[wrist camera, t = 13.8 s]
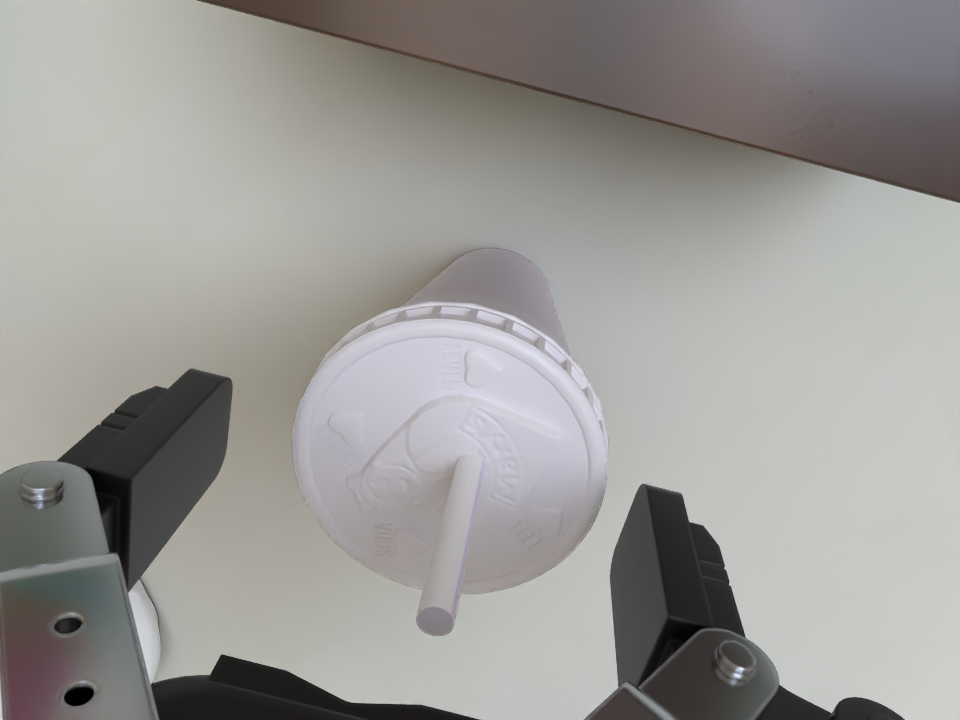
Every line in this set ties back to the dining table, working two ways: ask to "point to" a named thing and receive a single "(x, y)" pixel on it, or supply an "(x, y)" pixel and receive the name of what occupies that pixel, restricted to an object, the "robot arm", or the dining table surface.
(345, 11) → the cabinet
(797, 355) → the dining table surface
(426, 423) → the smoothie
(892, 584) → the dining table surface
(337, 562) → the dining table surface
